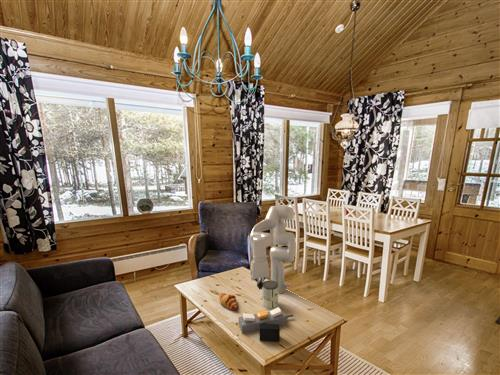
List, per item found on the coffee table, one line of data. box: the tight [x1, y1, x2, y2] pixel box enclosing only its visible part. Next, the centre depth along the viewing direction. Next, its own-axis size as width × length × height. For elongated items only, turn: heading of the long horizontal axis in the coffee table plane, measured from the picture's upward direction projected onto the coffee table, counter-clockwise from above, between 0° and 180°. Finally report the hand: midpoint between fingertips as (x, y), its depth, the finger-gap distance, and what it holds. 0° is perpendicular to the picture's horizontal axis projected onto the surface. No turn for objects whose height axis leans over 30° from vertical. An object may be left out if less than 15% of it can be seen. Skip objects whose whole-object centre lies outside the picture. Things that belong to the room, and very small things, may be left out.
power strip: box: [238, 310, 294, 334], centre depth 140 cm, size 32×8×4 cm, turn 106°
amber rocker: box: [255, 309, 269, 320], centre depth 139 cm, size 6×4×2 cm, turn 106°
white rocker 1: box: [242, 312, 255, 321], centre depth 137 cm, size 6×4×2 cm, turn 105°
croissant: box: [219, 292, 238, 310], centre depth 160 cm, size 21×10×8 cm, turn 34°
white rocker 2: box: [268, 306, 283, 318], centre depth 141 cm, size 6×4×2 cm, turn 106°
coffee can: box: [261, 279, 279, 310], centre depth 158 cm, size 10×10×14 cm
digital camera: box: [259, 322, 281, 343], centre depth 128 cm, size 10×5×7 cm, turn 86°
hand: (260, 288), depth 142 cm, fingers closed
